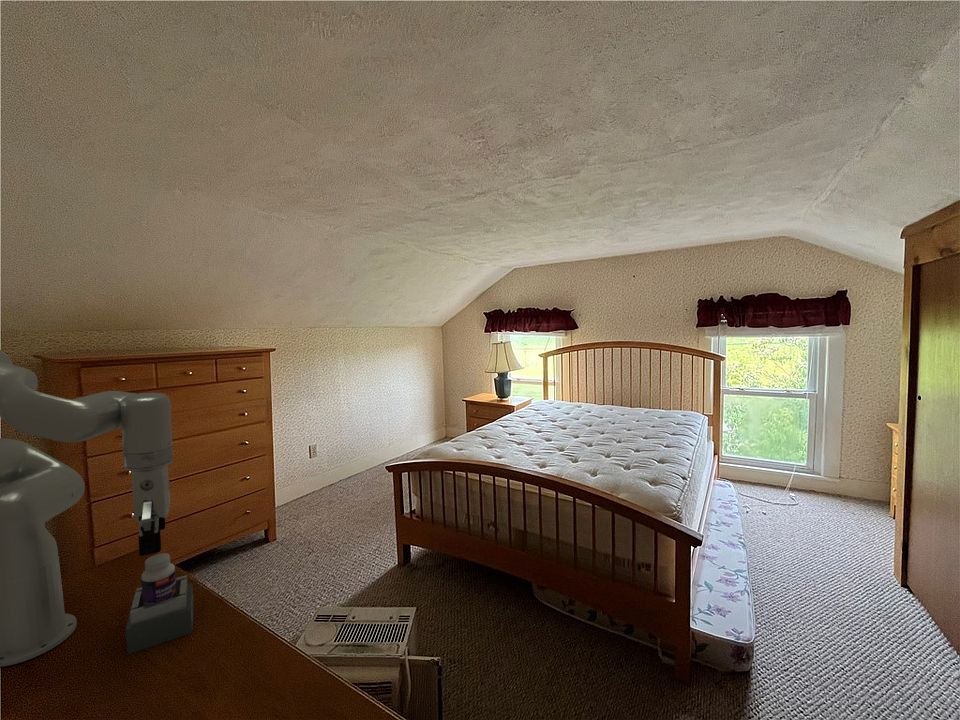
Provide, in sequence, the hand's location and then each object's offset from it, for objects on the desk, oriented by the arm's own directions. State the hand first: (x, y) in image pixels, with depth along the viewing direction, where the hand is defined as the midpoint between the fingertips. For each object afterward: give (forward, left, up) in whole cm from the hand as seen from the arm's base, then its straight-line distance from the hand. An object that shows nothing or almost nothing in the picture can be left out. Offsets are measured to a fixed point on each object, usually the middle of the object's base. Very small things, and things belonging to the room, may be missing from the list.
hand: (153, 541), depth 84 cm
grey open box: (+1, 0, -18) cm, 18 cm away
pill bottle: (0, 0, -14) cm, 14 cm away
